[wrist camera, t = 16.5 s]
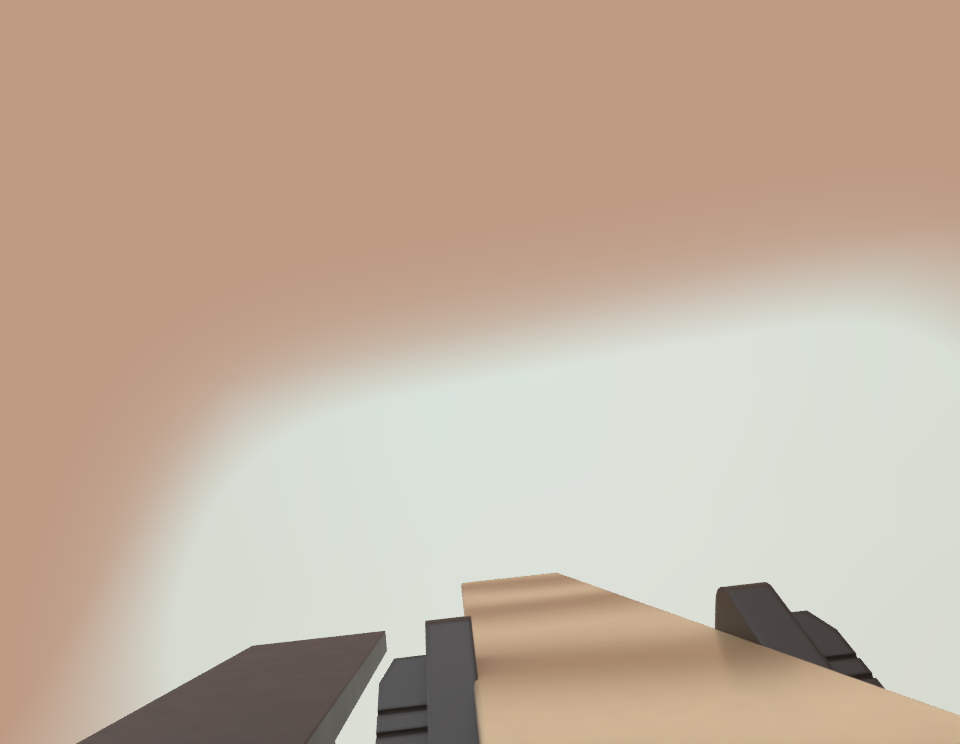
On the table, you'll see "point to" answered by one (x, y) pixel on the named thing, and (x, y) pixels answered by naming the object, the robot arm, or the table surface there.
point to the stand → (260, 697)
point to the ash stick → (659, 678)
